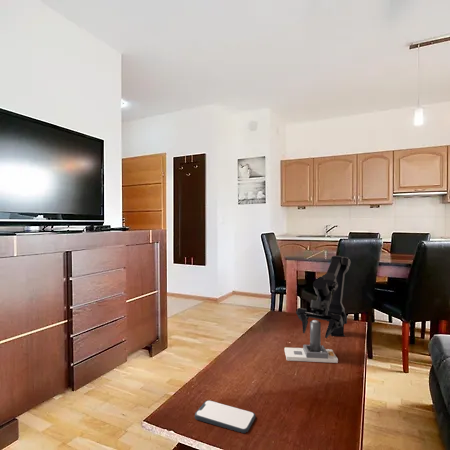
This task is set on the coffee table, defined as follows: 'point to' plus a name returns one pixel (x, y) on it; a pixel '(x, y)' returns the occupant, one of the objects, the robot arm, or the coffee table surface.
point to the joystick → (315, 336)
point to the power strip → (310, 355)
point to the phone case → (225, 416)
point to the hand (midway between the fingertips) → (314, 335)
